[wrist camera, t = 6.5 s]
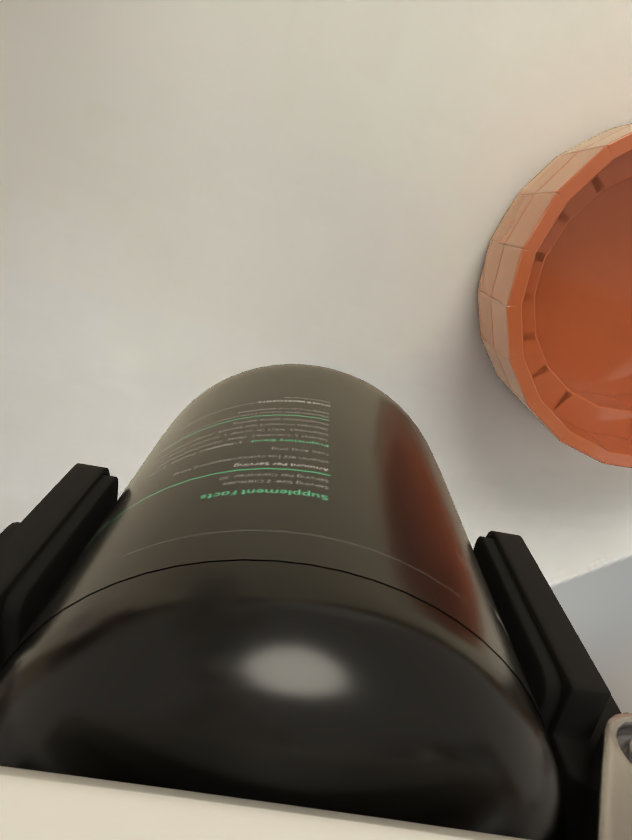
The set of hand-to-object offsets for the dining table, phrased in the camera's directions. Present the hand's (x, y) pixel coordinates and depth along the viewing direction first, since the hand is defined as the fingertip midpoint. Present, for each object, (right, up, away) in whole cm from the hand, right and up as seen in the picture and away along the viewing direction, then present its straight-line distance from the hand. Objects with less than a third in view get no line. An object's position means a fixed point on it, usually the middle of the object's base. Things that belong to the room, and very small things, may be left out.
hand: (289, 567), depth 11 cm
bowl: (+15, +9, +17) cm, 25 cm away
